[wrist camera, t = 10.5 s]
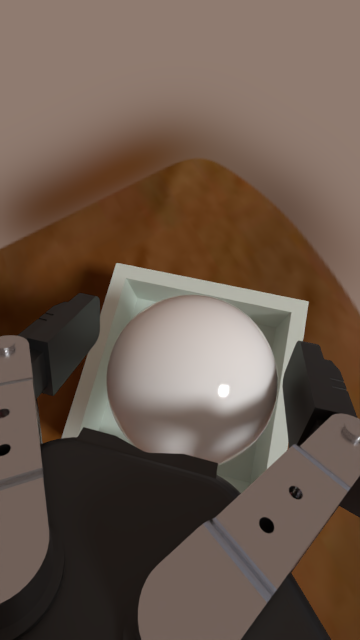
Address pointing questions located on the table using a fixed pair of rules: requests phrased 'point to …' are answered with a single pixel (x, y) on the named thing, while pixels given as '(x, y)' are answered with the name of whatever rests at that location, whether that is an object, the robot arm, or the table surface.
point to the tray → (152, 286)
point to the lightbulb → (192, 379)
